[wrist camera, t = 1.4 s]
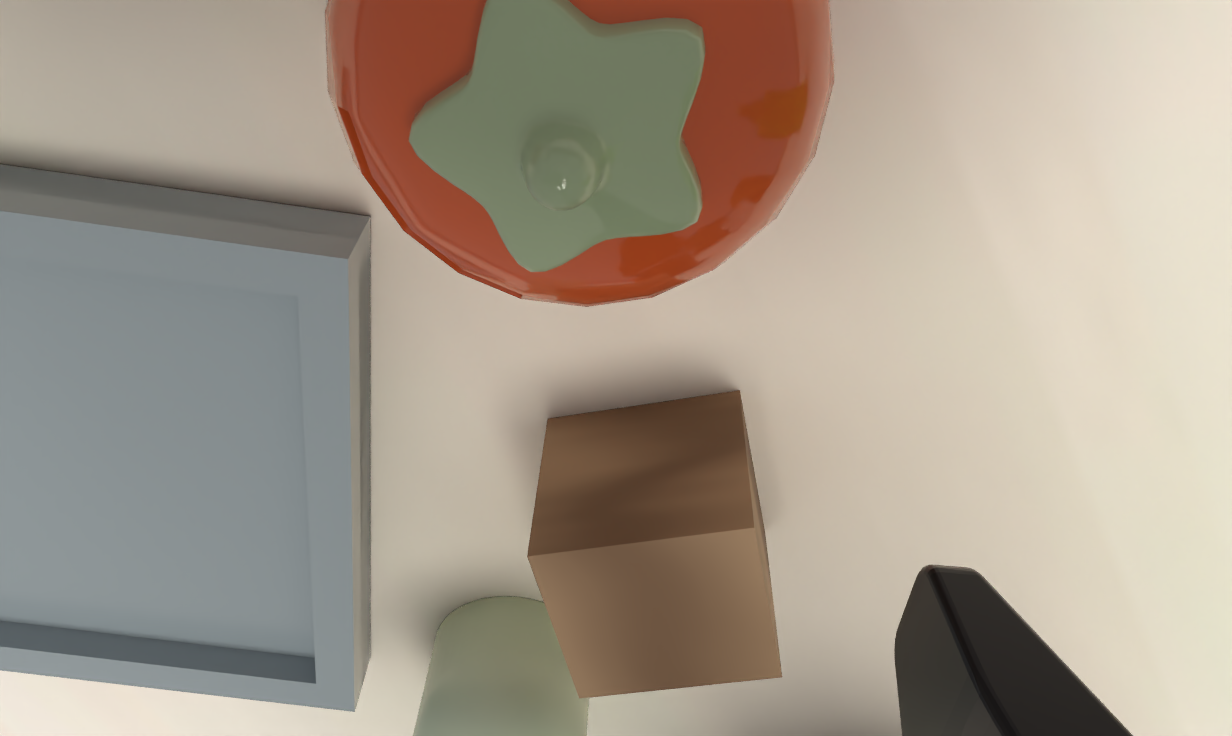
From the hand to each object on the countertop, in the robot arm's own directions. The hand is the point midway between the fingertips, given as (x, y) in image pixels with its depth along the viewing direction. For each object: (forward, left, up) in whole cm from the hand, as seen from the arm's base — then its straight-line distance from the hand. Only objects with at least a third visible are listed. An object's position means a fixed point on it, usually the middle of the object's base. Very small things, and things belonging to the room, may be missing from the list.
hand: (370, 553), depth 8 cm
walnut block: (-4, +10, -13) cm, 17 cm away
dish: (+10, +11, -13) cm, 20 cm away
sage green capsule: (-1, +17, -13) cm, 21 cm away
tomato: (-1, -1, -13) cm, 13 cm away
